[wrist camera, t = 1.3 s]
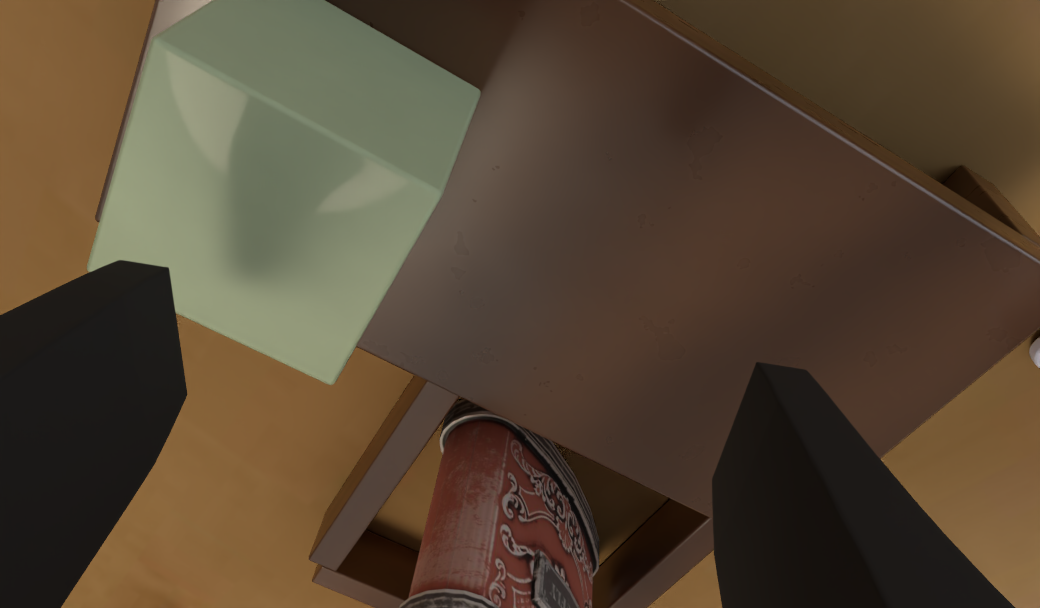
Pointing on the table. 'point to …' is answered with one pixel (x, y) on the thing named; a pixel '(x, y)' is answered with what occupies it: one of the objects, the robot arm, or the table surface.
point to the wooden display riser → (657, 268)
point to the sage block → (282, 172)
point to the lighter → (503, 521)
